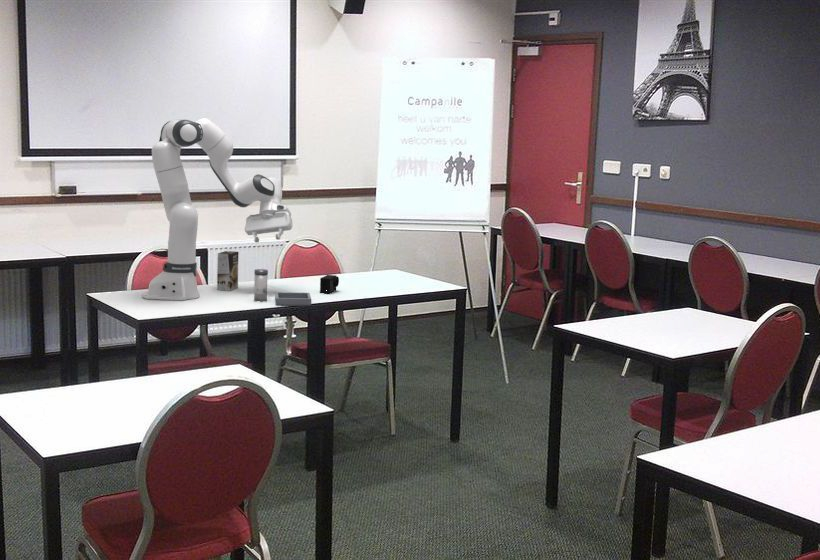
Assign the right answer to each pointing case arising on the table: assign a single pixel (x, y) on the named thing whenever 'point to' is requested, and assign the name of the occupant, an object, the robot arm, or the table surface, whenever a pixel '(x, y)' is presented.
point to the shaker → (260, 285)
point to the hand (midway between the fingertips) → (267, 240)
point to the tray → (292, 299)
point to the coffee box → (227, 270)
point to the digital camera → (328, 284)
